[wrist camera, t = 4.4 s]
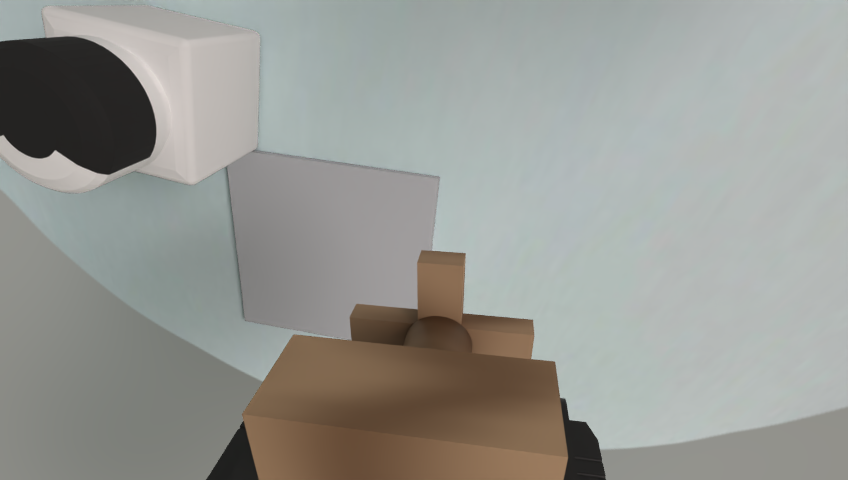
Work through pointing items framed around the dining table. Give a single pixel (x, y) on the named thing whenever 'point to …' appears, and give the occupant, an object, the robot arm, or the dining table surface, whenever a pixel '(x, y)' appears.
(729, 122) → the dining table surface
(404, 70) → the dining table surface
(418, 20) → the dining table surface
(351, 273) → the mat
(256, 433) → the wooden pedestal stool
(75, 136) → the blocky figurine
